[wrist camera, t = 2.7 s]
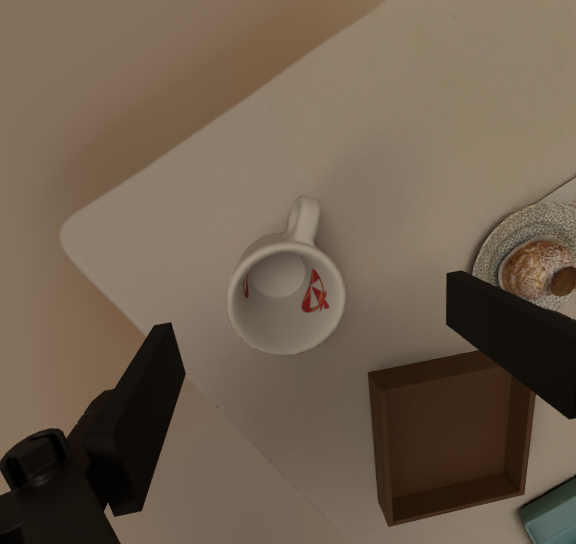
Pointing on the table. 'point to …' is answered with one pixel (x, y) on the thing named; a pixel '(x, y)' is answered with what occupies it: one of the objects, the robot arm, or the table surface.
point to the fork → (563, 193)
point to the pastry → (533, 254)
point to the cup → (287, 288)
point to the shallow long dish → (552, 516)
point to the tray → (448, 435)
